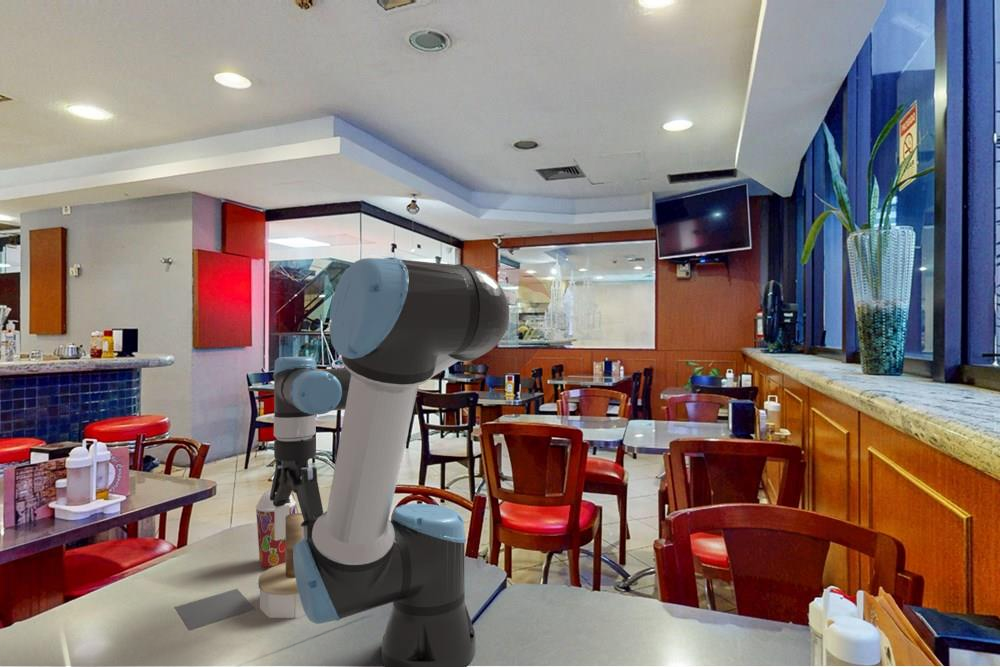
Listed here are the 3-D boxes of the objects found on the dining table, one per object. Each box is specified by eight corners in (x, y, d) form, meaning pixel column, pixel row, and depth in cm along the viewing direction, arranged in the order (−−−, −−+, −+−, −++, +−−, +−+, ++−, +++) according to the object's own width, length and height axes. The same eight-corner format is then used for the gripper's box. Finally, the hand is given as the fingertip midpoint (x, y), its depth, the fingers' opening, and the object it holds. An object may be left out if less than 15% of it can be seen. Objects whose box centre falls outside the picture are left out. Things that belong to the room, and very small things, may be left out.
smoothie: (302, 558, 126) (302, 472, 126) (284, 574, 118) (284, 481, 118) (268, 557, 127) (268, 471, 127) (248, 572, 119) (248, 480, 119)
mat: (255, 611, 102) (255, 608, 102) (189, 633, 94) (189, 630, 94) (237, 591, 110) (237, 588, 110) (174, 610, 102) (174, 607, 102)
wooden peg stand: (343, 579, 104) (342, 516, 104) (273, 602, 95) (273, 533, 95) (314, 559, 113) (314, 501, 113) (248, 578, 104) (248, 515, 105)
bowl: (337, 606, 104) (337, 579, 104) (275, 628, 96) (275, 599, 96) (312, 585, 112) (312, 561, 112) (253, 604, 104) (253, 578, 104)
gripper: (343, 444, 98) (343, 562, 97) (289, 427, 116) (289, 526, 116) (302, 450, 92) (302, 575, 92) (252, 431, 111) (252, 535, 111)
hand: (295, 548), depth 104 cm, fingers open, 13 cm apart
